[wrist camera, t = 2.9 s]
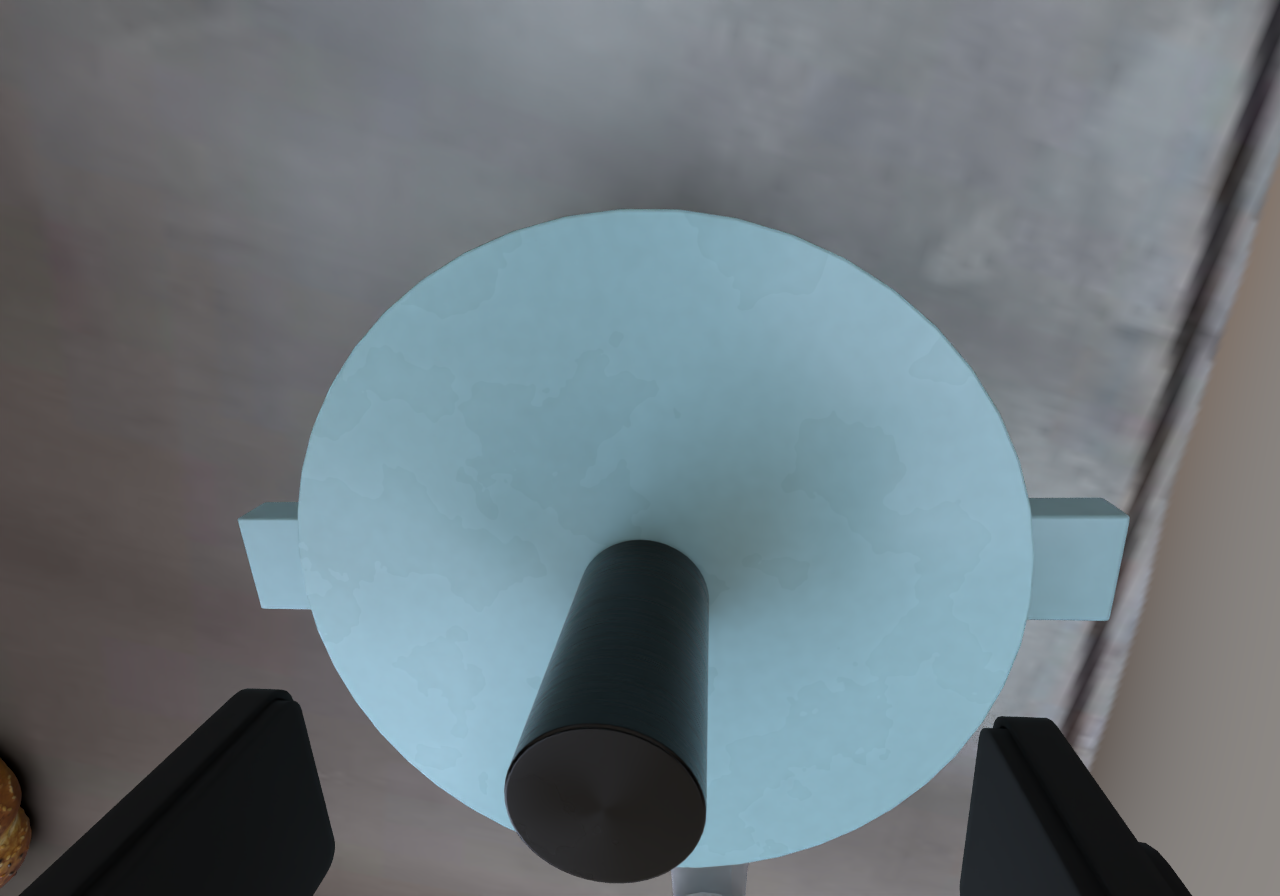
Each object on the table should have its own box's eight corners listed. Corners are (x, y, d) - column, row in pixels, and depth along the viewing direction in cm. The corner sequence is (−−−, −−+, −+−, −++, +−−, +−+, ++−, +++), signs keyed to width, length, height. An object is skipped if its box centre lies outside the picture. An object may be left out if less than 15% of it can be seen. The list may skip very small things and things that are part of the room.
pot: (365, 254, 20) (137, 267, 12) (998, 219, 18) (1227, 207, 10) (431, 623, 25) (294, 812, 16) (951, 633, 22) (1084, 857, 14)
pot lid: (257, 234, 12) (-136, 233, 7) (1062, 184, 11) (1471, 126, 5) (389, 812, 17) (222, 1108, 11) (968, 844, 15) (1122, 1215, 9)
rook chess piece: (697, 719, 25) (690, 934, 17) (790, 779, 25) (822, 1015, 17) (632, 787, 26) (599, 1014, 18) (721, 843, 26) (724, 1087, 19)
